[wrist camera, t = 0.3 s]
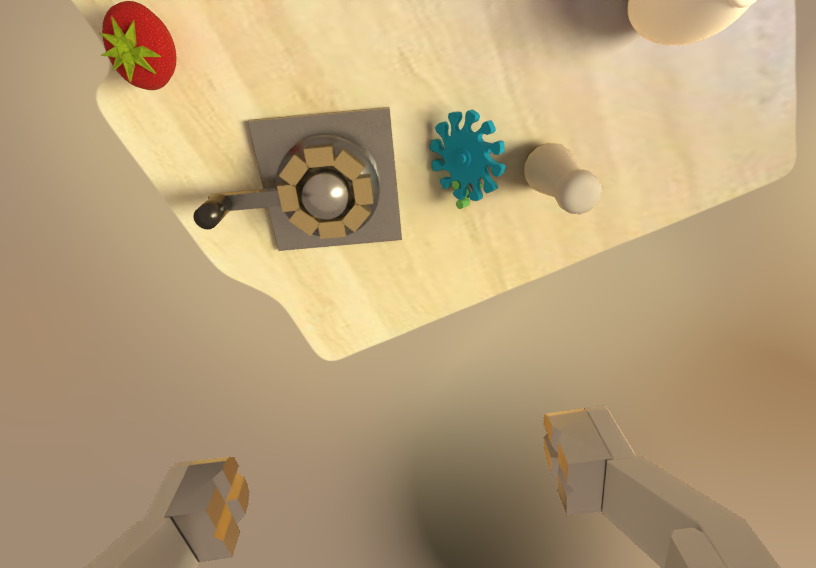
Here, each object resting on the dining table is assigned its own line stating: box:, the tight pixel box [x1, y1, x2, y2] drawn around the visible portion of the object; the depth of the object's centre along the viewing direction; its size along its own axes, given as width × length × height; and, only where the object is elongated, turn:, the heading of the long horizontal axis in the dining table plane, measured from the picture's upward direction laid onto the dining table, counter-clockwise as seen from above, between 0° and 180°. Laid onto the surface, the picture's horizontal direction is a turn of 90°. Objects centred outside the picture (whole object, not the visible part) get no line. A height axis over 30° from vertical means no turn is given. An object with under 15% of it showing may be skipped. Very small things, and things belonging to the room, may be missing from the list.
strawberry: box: [100, 1, 176, 90], centre depth 43 cm, size 6×8×10 cm
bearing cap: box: [248, 107, 402, 251], centre depth 53 cm, size 16×16×6 cm
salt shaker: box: [524, 143, 602, 214], centre depth 49 cm, size 6×6×13 cm
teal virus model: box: [430, 110, 506, 209], centre depth 52 cm, size 11×6×10 cm
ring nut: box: [194, 143, 374, 239], centre depth 50 cm, size 10×18×6 cm, turn 95°
